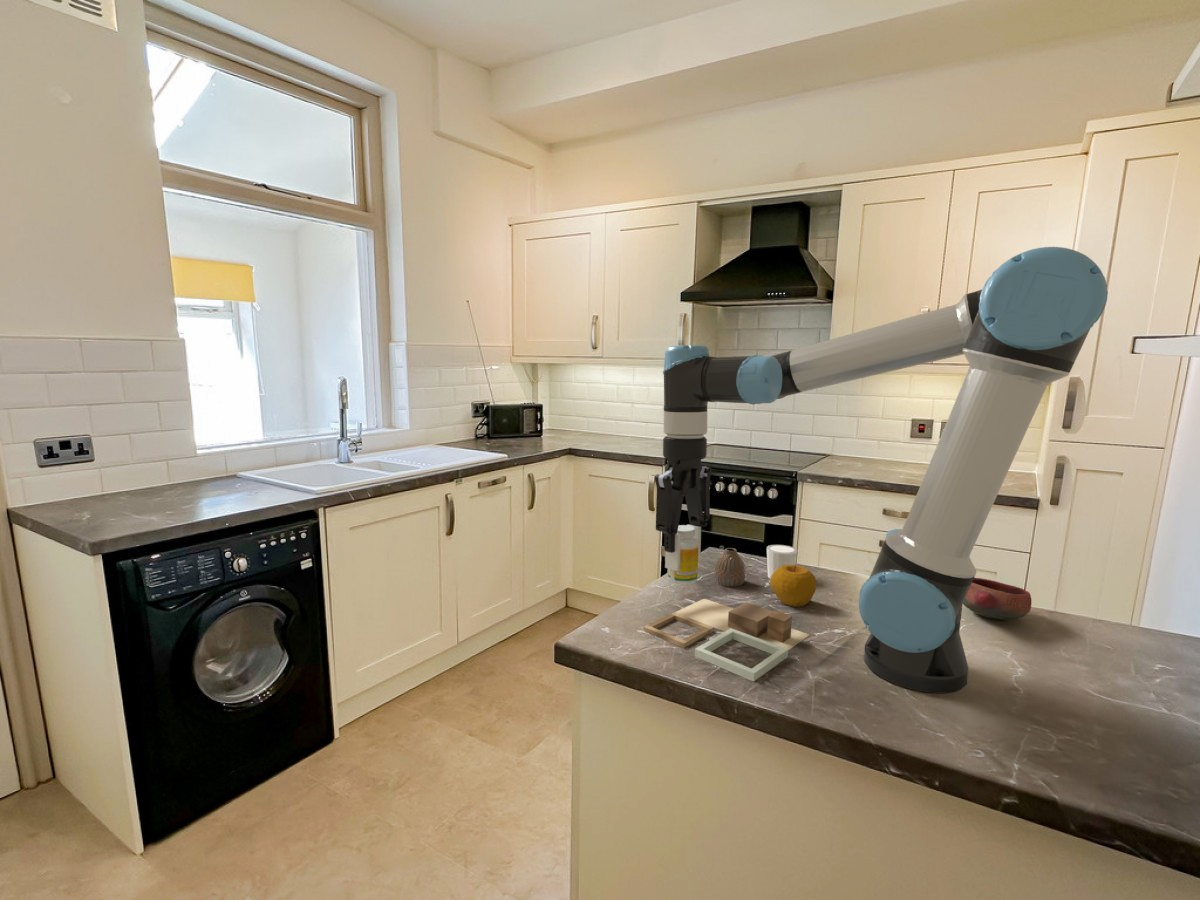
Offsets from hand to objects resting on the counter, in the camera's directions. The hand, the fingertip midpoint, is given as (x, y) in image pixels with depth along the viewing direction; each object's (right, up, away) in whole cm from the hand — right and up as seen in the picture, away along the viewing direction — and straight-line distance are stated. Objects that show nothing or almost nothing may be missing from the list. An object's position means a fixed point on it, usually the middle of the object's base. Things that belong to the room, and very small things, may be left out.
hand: (682, 564), depth 105 cm
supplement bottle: (0, -3, 0) cm, 3 cm away
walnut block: (+13, -12, +4) cm, 19 cm away
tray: (+9, -15, -7) cm, 19 cm away
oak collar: (-1, -14, +2) cm, 14 cm away
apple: (+25, -12, +16) cm, 32 cm away
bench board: (+11, -13, +6) cm, 19 cm away
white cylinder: (+28, -10, +33) cm, 44 cm away
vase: (+14, -11, +27) cm, 32 cm away
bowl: (+63, -13, +11) cm, 65 cm away
